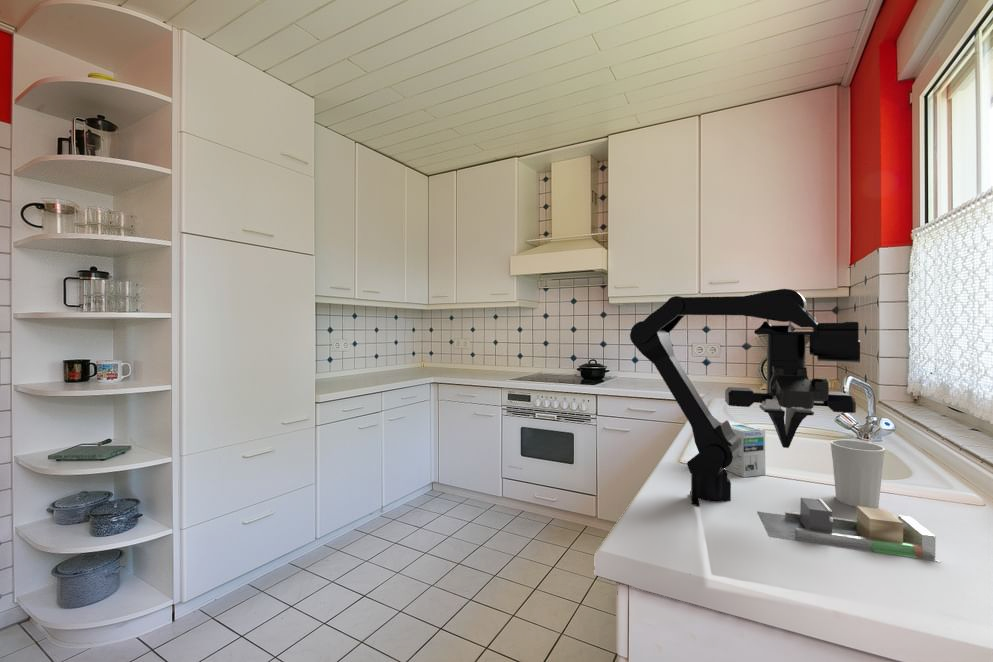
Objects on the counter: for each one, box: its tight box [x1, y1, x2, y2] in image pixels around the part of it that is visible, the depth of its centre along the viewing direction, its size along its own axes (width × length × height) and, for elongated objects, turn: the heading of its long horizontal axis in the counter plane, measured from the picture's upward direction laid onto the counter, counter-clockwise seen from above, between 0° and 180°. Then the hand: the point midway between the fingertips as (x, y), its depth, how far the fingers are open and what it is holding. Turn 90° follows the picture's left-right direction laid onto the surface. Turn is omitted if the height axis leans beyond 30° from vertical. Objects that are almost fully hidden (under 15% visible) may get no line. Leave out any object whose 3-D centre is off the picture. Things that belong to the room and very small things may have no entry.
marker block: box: [856, 506, 903, 543], centre depth 68 cm, size 4×5×4 cm
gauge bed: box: [757, 510, 942, 563], centre depth 70 cm, size 21×10×2 cm, turn 69°
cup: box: [830, 439, 886, 509], centre depth 83 cm, size 8×8×12 cm
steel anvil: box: [897, 514, 937, 557], centre depth 67 cm, size 2×7×3 cm, turn 159°
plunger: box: [799, 497, 833, 533], centre depth 71 cm, size 3×6×4 cm, turn 159°
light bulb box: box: [719, 420, 767, 478], centre depth 105 cm, size 11×7×11 cm, turn 17°
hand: (785, 447), depth 78 cm, fingers closed
